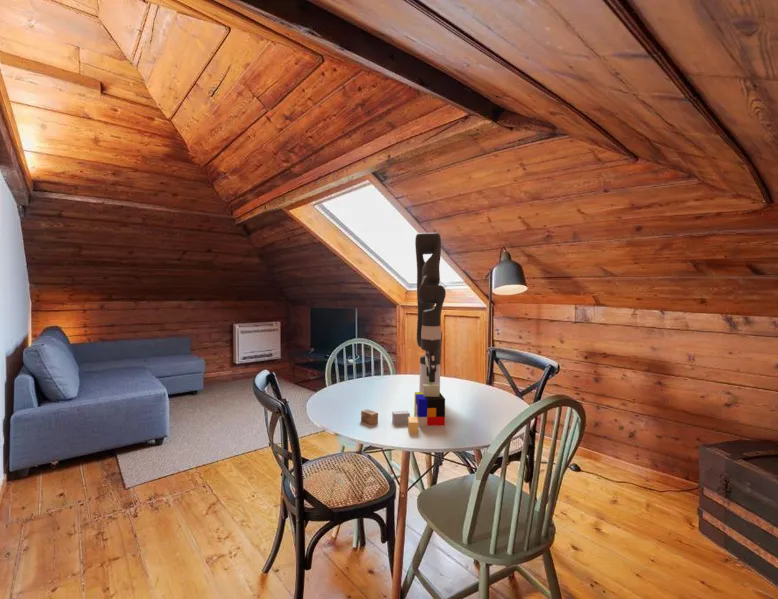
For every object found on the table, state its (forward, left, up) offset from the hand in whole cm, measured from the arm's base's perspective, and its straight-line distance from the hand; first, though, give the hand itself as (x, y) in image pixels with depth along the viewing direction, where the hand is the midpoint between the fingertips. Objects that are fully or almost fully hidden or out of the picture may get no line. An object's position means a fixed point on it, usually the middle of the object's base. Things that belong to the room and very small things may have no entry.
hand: (430, 379), depth 152 cm
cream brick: (0, 0, -6) cm, 6 cm away
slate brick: (+2, -11, -16) cm, 20 cm away
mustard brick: (+10, -7, -16) cm, 21 cm away
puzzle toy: (0, 0, -17) cm, 17 cm away
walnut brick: (+2, -23, -16) cm, 28 cm away
